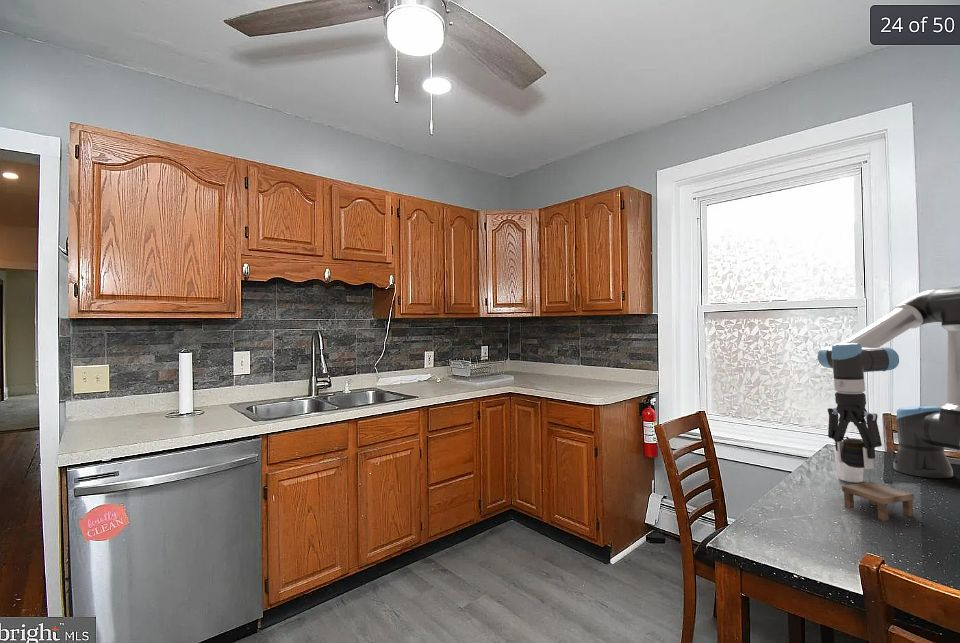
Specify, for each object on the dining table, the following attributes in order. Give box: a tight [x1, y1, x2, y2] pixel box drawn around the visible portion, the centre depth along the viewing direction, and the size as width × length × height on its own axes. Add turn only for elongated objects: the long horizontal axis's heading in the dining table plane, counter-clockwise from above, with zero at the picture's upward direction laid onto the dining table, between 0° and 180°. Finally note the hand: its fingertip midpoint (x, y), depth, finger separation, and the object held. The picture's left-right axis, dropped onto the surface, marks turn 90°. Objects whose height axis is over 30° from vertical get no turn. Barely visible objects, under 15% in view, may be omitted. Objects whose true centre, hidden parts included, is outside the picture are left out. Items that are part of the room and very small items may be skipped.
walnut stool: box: [841, 481, 915, 522], centre depth 129 cm, size 11×11×6 cm
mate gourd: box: [841, 435, 865, 468], centre depth 143 cm, size 7×8×10 cm
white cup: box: [833, 447, 865, 484], centre depth 156 cm, size 8×8×10 cm
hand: (855, 465), depth 143 cm, fingers closed on mate gourd, 7 cm apart
